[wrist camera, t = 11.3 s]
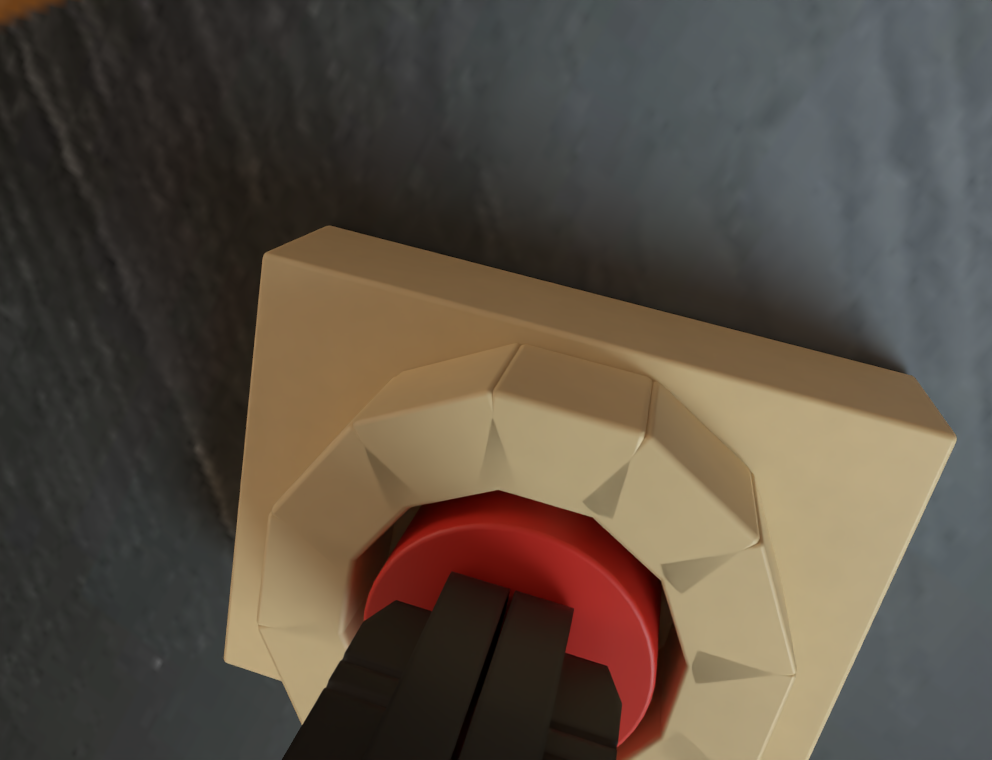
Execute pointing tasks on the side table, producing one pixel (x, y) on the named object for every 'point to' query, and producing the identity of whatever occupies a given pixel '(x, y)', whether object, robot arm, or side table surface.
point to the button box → (575, 474)
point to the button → (538, 579)
